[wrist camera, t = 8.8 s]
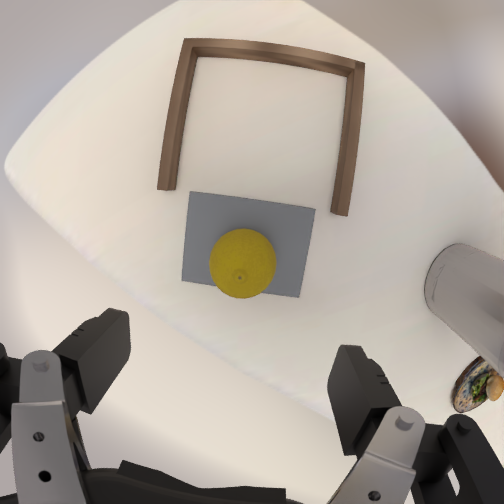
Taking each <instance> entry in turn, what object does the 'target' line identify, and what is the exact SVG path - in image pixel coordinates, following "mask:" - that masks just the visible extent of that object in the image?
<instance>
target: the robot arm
mask: <svg viewBox="0 0 504 504" xmlns="http://www.w3.org/2000/svg"><path fill="white" fill-rule="evenodd" d="M425 297H426V302H427V305H428V307H429V308H430V310H431V311H432V312H433V313H434V314H435V315H436V316H438V317H439V318H440V319H441V320H442V321H443V322H444V323H445V324H447V325H448V326H449V327H450V328H451V329H452V330H453V331H454V332H455V333H456V334H458V335H459V336H460V337H461V338H462V339H463V340H464V341H465V342H466V343H467V344H468V345H469V346H471V347H472V348H473V349H474V350H475V351H476V352H477V353H478V354H479V355H480V356H481V357H482V358H483V359H484V360H485V361H486V362H487V363H488V364H489V365H490V366H491V367H492V368H494V369H495V370H496V371H497V372H498V373H499V374H500V375H501V376H502V377H503V378H504V260H502V259H499V258H497V257H495V256H492V255H490V254H488V253H486V252H483V251H481V250H478V249H476V248H473V247H471V246H468V245H465V244H455V245H452V246H450V247H448V248H446V249H445V250H444V251H443V252H442V253H440V254H439V255H438V257H437V258H436V260H435V261H434V262H433V264H432V266H431V268H430V270H429V273H428V276H427V279H426V284H425ZM130 351H131V342H130V326H129V315H128V313H127V312H125V311H121V310H116V309H112V308H108V309H107V310H106V311H104V312H103V313H102V314H101V315H100V316H99V317H94V318H92V319H89V320H87V321H85V322H83V323H82V324H81V325H80V326H79V327H78V328H77V329H76V330H74V331H73V332H72V334H71V335H69V336H68V337H67V338H66V339H65V340H63V341H62V342H61V343H60V344H59V345H58V346H57V347H56V348H55V349H53V351H51V352H50V351H46V350H38V351H34V352H31V353H29V354H28V355H26V356H25V357H24V358H23V360H22V359H16V358H11V357H8V356H7V353H6V350H5V347H4V345H3V344H2V343H0V453H1V452H2V450H3V449H4V447H5V446H6V444H7V443H8V441H9V440H10V439H11V437H12V454H13V465H14V474H15V482H16V489H17V493H14V494H10V495H6V496H2V497H0V504H303V503H300V502H297V501H294V500H291V499H286V489H285V488H265V487H251V486H240V487H226V488H198V487H195V486H192V485H190V484H188V483H185V482H183V481H181V480H178V479H176V478H174V477H172V476H170V475H168V474H165V473H163V472H161V471H158V470H155V469H151V468H147V467H144V466H141V465H137V464H134V463H131V462H128V461H125V460H122V462H121V464H120V467H119V469H115V468H97V469H92V468H91V466H90V463H89V461H88V457H87V455H86V451H85V447H84V443H83V440H82V436H81V432H80V428H79V423H78V419H77V417H76V415H77V413H78V412H79V411H80V410H81V411H83V412H86V413H88V414H92V413H93V411H94V410H95V408H96V407H97V405H98V404H99V402H100V400H101V399H102V398H103V396H104V395H105V393H106V392H107V390H108V389H109V387H110V386H111V384H112V383H113V381H114V380H115V378H116V377H117V376H118V374H119V373H120V371H121V370H122V368H123V367H124V365H125V364H126V362H127V361H128V359H129V356H130ZM327 390H328V395H329V399H330V402H331V406H332V410H333V414H334V417H335V421H336V425H337V429H338V433H339V436H340V441H341V445H342V449H343V453H344V455H345V456H348V455H356V456H357V461H356V463H355V464H354V466H353V467H352V469H351V470H350V472H349V473H348V475H347V476H346V478H345V479H344V481H343V482H342V483H341V485H340V486H339V488H338V489H337V490H336V492H335V493H334V495H333V496H332V497H331V499H330V500H329V501H328V503H327V504H404V502H405V500H406V497H407V495H408V492H409V490H410V489H411V492H412V495H413V499H414V502H415V504H504V468H503V467H502V465H501V463H500V461H499V459H498V458H497V456H496V454H495V453H494V451H493V449H492V447H491V446H490V444H489V442H488V441H487V439H486V437H485V436H484V434H483V433H482V431H481V429H480V428H479V426H478V425H477V423H476V422H475V421H474V420H473V419H472V418H470V417H468V416H466V415H463V414H454V415H451V416H450V417H449V418H448V419H447V421H446V422H445V424H444V425H435V424H427V423H425V421H424V419H423V417H422V416H421V415H420V414H419V413H418V412H417V411H415V410H414V409H411V408H408V407H404V406H402V405H401V403H400V401H399V399H398V397H397V395H396V393H395V392H394V390H393V388H392V386H391V384H389V381H388V379H387V377H385V374H384V372H383V370H382V368H381V367H380V366H379V365H378V364H377V363H376V362H375V361H373V360H372V359H368V358H367V356H366V354H365V353H364V351H363V349H362V347H361V346H356V345H341V346H340V347H339V349H338V352H337V355H336V358H335V361H334V364H333V367H332V369H331V372H330V375H329V379H328V385H327ZM452 468H453V470H454V472H455V475H456V477H457V479H458V481H459V485H460V489H459V493H458V495H457V496H456V494H455V491H454V489H453V487H452V484H451V481H450V479H449V477H448V474H447V473H448V472H449V471H450V470H451V469H452Z"/></svg>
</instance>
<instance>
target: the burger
mask: <svg viewBox="0 0 504 504" xmlns="http://www.w3.org/2000/svg"><path fill="white" fill-rule="evenodd" d="M456 386H457V392H456V394H455V396H454V399H453V401H454V409H455V410H456V411H457V412H459V413H463V412H467V411H470V410H472V409H474V408H476V407H478V406H479V405H481V404H482V403H483V402H485V401H486V400H487V399H488V398H489V399H490V400H491V401H495V400H497V399H498V398H499V397H500V396H501V394H502V392H503V390H504V380H503V378H502V376H501V375H500V374H499V373H498V372H497V371H496V370H495V369H494V368H492V367H491V366H490V365H489V364H488V363H487V362H486V361H485V360H484V359H483V358H482V357H481V356H479V357H477V358H476V359H475V360H474V361H473V362H472V363H471V364H470V365H469V366H468V367H467V368H466V369H465V370H464V371H463V372H462V374H461V376H460V377H459V378H458V379H457V381H456Z"/></svg>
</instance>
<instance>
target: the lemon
mask: <svg viewBox="0 0 504 504" xmlns="http://www.w3.org/2000/svg"><path fill="white" fill-rule="evenodd" d="M276 264H277V261H276V254H275V251H274V249H273V247H272V245H271V243H270V242H269V241H268V239H267V238H266V237H264V236H263V235H262V234H261V233H259V232H256V231H254V230H251V229H235V230H233V231H230V232H228V233H226V234H225V235H223V236H222V237H220V239H219V240H218V241H217V242H216V243H215V245H214V247H213V249H212V251H211V254H210V259H209V268H210V274H211V277H212V279H213V281H214V283H215V284H216V286H217V287H218V288H219V289H220V290H221V291H222V292H223V293H225V294H227V295H229V296H231V297H235V298H250V297H253V296H256V295H258V294H260V293H261V292H262V291H263V290H265V289H266V288H267V287H268V285H269V284H270V283H271V281H272V279H273V277H274V274H275V271H276Z"/></svg>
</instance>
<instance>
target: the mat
mask: <svg viewBox="0 0 504 504" xmlns="http://www.w3.org/2000/svg"><path fill="white" fill-rule="evenodd" d="M314 215H315V209H312V208H306V207H300V206H294V205H287V204H281V203H274V202H268V201H261V200H254V199H247V198H240V197H232V196H224V195H217V194H208V193H200V192H191V191H190V195H189V203H188V213H187V222H186V232H185V243H184V255H183V268H182V281H187V282H193V283H199V284H206V285H212V286H216V284H215V283H214V281H213V279H212V277H211V274H210V268H209V259H210V254H211V251H212V249H213V247H214V245H215V243H216V242H217V241H218V240H219V239H220V237H222V236H223V235H225V234H226V233H228V232H230V231H233V230H235V229H251V230H254V231H256V232H259V233H261V234H262V235H263V236H264V237H266V238H267V239H268V241H269V242H270V243H271V245H272V247H273V249H274V251H275V254H276V261H277V264H276V271H275V274H274V277H273V279H272V281H271V283H270V284H269V285H268V287H267V288H266V289H265V290H263V291H262V292H261V293H267V294H274V295H282V296H289V297H297V298H299V294H300V290H301V285H302V280H303V275H304V270H305V265H306V259H307V254H308V249H309V244H310V238H311V232H312V227H313V221H314Z"/></svg>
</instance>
